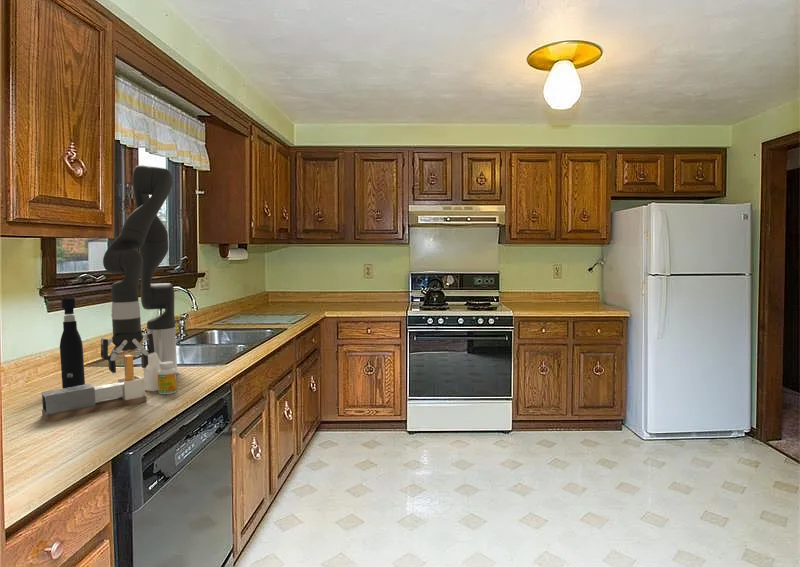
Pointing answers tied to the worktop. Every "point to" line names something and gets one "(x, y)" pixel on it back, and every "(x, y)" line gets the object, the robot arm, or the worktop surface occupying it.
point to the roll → (152, 372)
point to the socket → (133, 387)
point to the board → (95, 408)
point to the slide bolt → (116, 388)
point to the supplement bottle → (167, 378)
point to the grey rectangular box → (68, 399)
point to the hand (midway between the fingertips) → (129, 370)
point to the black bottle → (71, 348)
